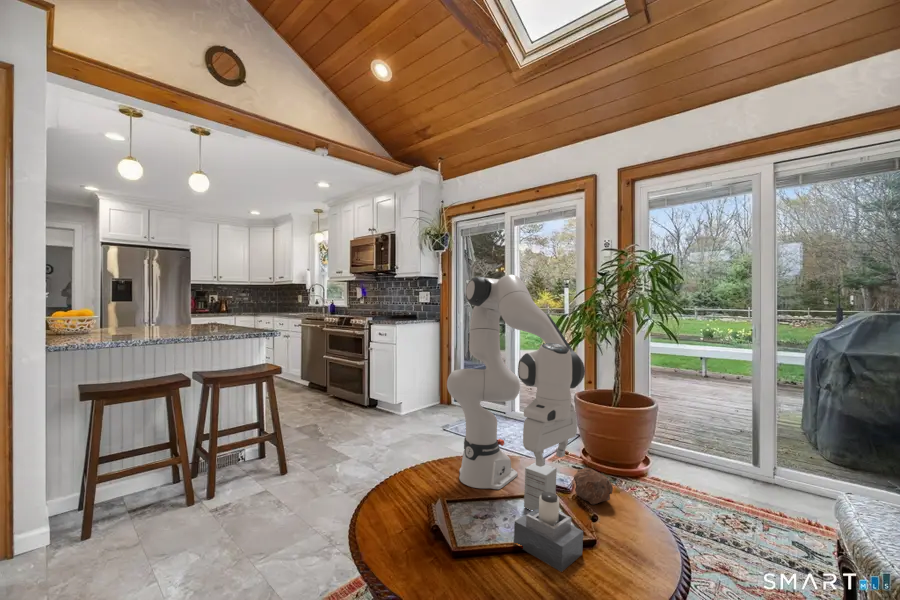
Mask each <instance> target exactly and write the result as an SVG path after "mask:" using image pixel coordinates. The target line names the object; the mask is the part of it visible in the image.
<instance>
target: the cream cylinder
mask: <svg viewBox="0 0 900 600" xmlns="http://www.w3.org/2000/svg"><path fill="white" fill-rule="evenodd" d="M559 512H560V499H559V497H558V495H557V494H554V493H551V492H543V493H542V494H541V495H540V497H539V520H541V521H543V522H545V523H547V524H549V525H551V526H554V525H556V524H557V523H558V522H559Z"/></svg>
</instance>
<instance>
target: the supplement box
mask: <svg viewBox="0 0 900 600" xmlns="http://www.w3.org/2000/svg"><path fill="white" fill-rule="evenodd" d="M524 474H525V475H524V492H523V493H524V496H523V508H524V507H525V508H528V509H530V510H535V509H538V510H539V497H540V495H541V494H542V493H543V492H551V493H554V494H556V493H557V492H556V491H557V467H554V466H552V465H549V464H546V463H545V465H544V466H542V467H539V466H537V465H536V461H535V462H533V463H531V464H529V465H528V466H526V467H525V470H524ZM556 495H557V494H556ZM525 508H524V509H525Z"/></svg>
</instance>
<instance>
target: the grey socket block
mask: <svg viewBox="0 0 900 600" xmlns="http://www.w3.org/2000/svg"><path fill="white" fill-rule="evenodd" d="M513 529H514V530H513V544H514V543H518V544H520V545H522V546H523V549H522V550H523V551H524V552H527V554H530V555H532V556H534V557H535V558H537V559H538V560H540V561H541V562H543V563H545V564H547V565H549V566H550V567H552V568H554V569H556V570H557V571H559V572H560V573H563V571H565V570H566V569H567V568H568V567H570V566H571V565H572V564H574V562H575V561H576V560H578V559H579V558H580V557H582V556H583V548H584V547H583V545H584V544H583V542H584V530H582V529H580V528H579V527H578V528H577V527H576V526H574V525H572V517H571V516H568V515H567V514H565V513H562V512H560V511H559V522H558V523H557V524H556V525H554V526H551V525H549V524H547V523H545V522H543V521H541V520H539V510H538V509H535V510H533V511H529V512H528V513H526V514H524V515H523V516H521V517H520V518H518V519H516V520H514V526H513Z"/></svg>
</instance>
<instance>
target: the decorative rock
mask: <svg viewBox="0 0 900 600" xmlns="http://www.w3.org/2000/svg"><path fill="white" fill-rule="evenodd" d="M573 481H574V483H575V489H574V492H575V494H576V495H577V496H578V497H580V498H581V499H582V500H584V501H587V502H588V503H590V505H598V503H602V502H609V501H610V499H611V495H612V494H613V490H614V488H613V487H614V486H613V484H612V483H611V482H612V481H610V480H609V479H608V477H607V476H606V475H604V474H602V473H600V472H598V471H597V470H595V469H593V468H590V467H584V468H582V469H577V472H576V473H575V474H574V476H573Z"/></svg>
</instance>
